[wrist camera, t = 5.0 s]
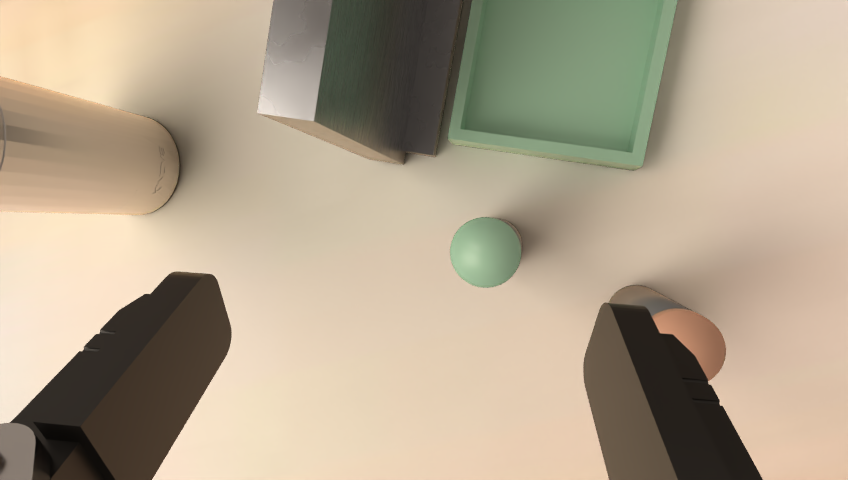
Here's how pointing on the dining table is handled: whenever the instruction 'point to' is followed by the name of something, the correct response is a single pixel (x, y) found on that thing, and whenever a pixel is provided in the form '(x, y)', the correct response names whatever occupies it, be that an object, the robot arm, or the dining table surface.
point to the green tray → (562, 78)
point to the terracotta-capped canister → (680, 325)
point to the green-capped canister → (486, 251)
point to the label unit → (361, 72)
